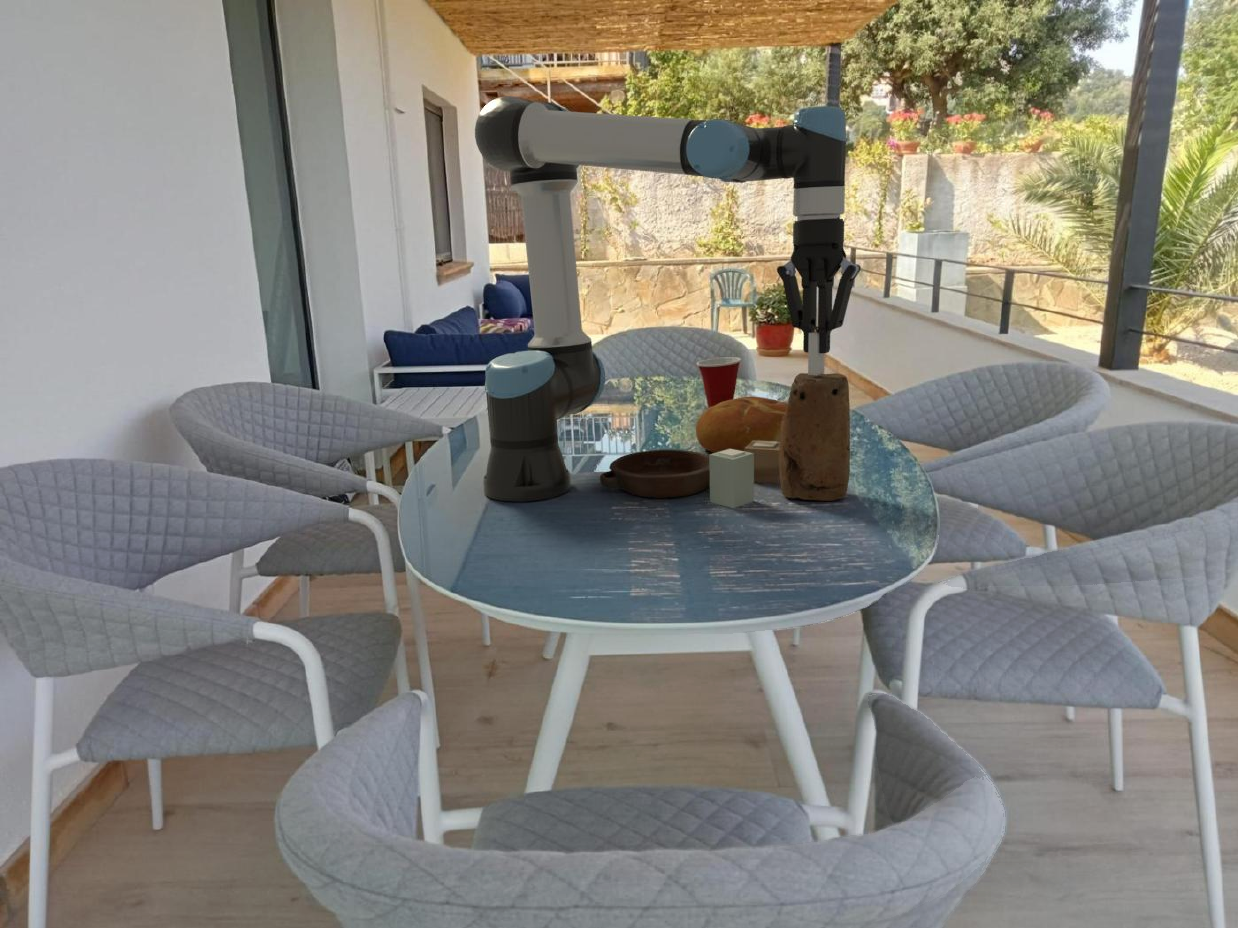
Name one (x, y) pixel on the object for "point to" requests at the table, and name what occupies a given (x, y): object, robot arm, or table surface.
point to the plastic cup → (719, 378)
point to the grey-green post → (731, 478)
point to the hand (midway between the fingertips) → (816, 373)
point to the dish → (659, 473)
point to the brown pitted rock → (816, 438)
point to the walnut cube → (765, 460)
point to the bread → (740, 423)
